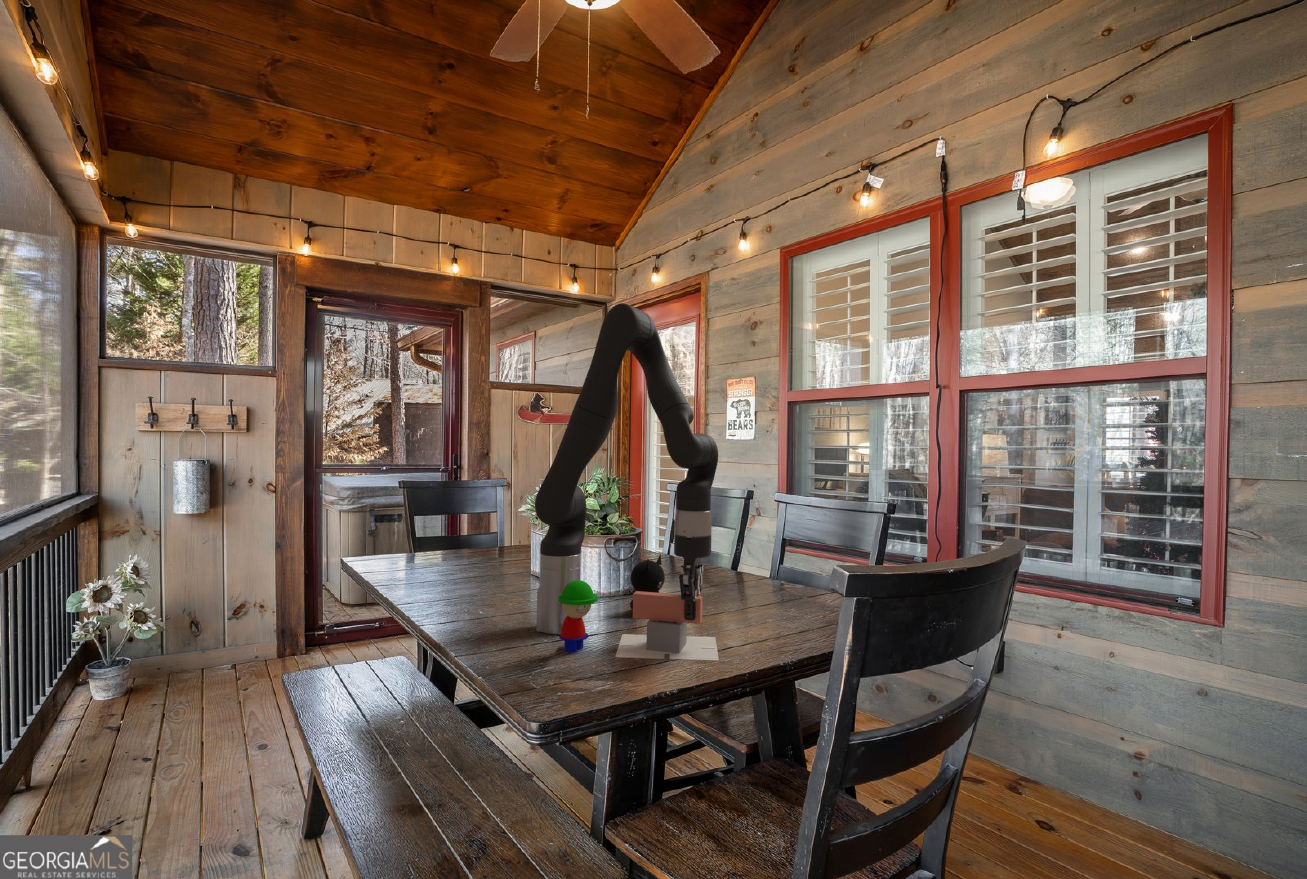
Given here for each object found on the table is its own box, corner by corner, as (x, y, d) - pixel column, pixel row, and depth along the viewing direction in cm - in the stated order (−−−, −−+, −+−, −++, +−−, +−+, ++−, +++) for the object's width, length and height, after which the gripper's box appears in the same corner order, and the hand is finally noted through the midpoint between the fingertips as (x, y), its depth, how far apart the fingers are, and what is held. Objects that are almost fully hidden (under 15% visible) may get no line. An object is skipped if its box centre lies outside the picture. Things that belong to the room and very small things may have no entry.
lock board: (615, 663, 127) (615, 631, 127) (622, 639, 142) (622, 611, 142) (718, 666, 126) (719, 634, 126) (715, 642, 141) (715, 613, 141)
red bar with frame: (629, 648, 133) (630, 596, 133) (638, 638, 139) (639, 588, 139) (697, 655, 129) (698, 601, 129) (703, 644, 136) (704, 594, 136)
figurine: (663, 625, 154) (664, 561, 154) (618, 615, 163) (619, 554, 163) (700, 611, 167) (701, 552, 167) (656, 602, 176) (657, 546, 176)
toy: (580, 665, 126) (581, 586, 126) (548, 657, 130) (550, 581, 130) (604, 654, 132) (605, 579, 132) (574, 647, 137) (575, 575, 137)
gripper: (682, 527, 141) (680, 608, 141) (666, 535, 127) (665, 625, 127) (716, 528, 139) (715, 611, 139) (704, 538, 125) (703, 628, 125)
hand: (691, 617), depth 133 cm, fingers closed on red bar with frame, 2 cm apart
